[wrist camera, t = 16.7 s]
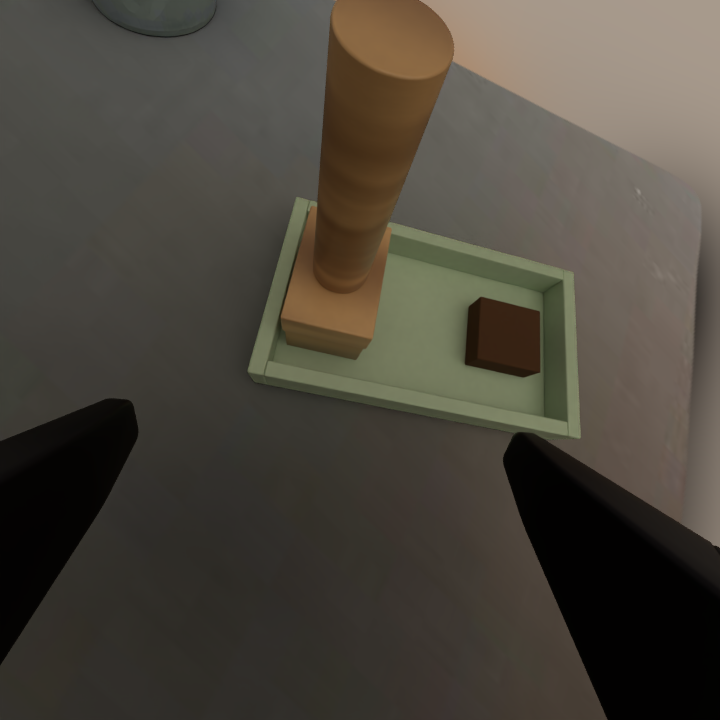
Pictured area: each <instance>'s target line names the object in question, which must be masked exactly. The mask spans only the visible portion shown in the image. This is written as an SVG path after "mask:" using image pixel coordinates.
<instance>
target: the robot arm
mask: <svg viewBox="0 0 720 720" xmlns="http://www.w3.org/2000/svg"><path fill="white" fill-rule="evenodd" d="M137 437H138V425H137V420H136V415H135V411H134V406H133V404H132V402H131V401H129V400H127V399H115V398H109V399H105V400H102V401H100V402H97V403H95V404H92V405H90V406H87V407H85V408H82V409H80V410H77V411H75V412H72V413H70V414H67V415H65V416H62V417H60V418H57V419H55V420H52V421H50V422H47V423H45V424H42V425H40V426H37V427H35V428H32V429H30V430H27V431H25V432H22V433H20V434H17V435H15V436H12V437H10V438H7V439H5V440H2V441H0V665H1V663H2V662H3V660H4V659H5V657H6V656H7V654H8V652H9V651H10V649H11V648H12V646H13V645H14V643H15V642H16V640H17V638H18V637H19V635H20V634H21V632H22V631H23V629H24V628H25V626H26V625H27V623H28V621H29V620H30V618H31V617H32V615H33V614H34V612H35V611H36V609H37V608H38V606H39V604H40V603H41V601H42V600H43V598H44V597H45V595H46V594H47V592H48V590H49V589H50V587H51V586H52V584H53V583H54V581H55V580H56V578H57V577H58V575H59V573H60V572H61V570H62V569H63V567H64V566H65V564H66V563H67V561H68V559H69V558H70V556H71V555H72V553H73V552H74V550H75V549H76V547H77V546H78V544H79V542H80V541H81V539H82V538H83V536H84V535H85V533H86V532H87V530H88V528H89V527H90V525H91V524H92V522H93V521H94V519H95V518H96V516H97V514H98V513H99V511H100V510H101V508H102V506H103V505H104V503H105V501H106V499H107V497H108V495H109V493H110V492H111V490H112V488H113V486H114V484H115V482H116V480H117V478H118V476H119V474H120V472H121V470H122V468H123V466H124V464H125V462H126V460H127V458H128V456H129V454H130V452H131V450H132V448H133V446H134V444H135V442H136V440H137ZM503 464H504V468H505V471H506V474H507V477H508V480H509V483H510V486H511V489H512V492H513V495H514V498H515V501H516V505H517V508H518V511H519V514H520V517H521V519H522V522H523V525H524V527H525V530H526V532H527V535H528V537H529V539H530V541H531V544H532V546H533V548H534V551H535V553H536V555H537V558H538V560H539V562H540V565H541V567H542V569H543V572H544V574H545V576H546V578H547V581H548V583H549V585H550V588H551V590H552V592H553V595H554V597H555V599H556V602H557V604H558V606H559V609H560V611H561V613H562V615H563V618H564V620H565V622H566V625H567V627H568V629H569V632H570V634H571V636H572V639H573V641H574V643H575V646H576V648H577V650H578V652H579V655H580V657H581V659H582V662H583V664H584V666H585V669H586V671H587V673H588V676H589V678H590V680H591V683H592V685H593V687H594V689H595V692H596V694H597V696H598V699H599V701H600V703H601V706H602V708H603V710H604V713H605V715H606V717H607V719H608V720H720V548H719V547H717V546H713V545H712V544H711V542H709V541H708V540H706V539H704V538H703V537H701V536H700V535H698V534H696V533H695V532H693V531H691V530H690V529H688V528H687V527H685V526H683V525H682V524H680V523H679V522H677V521H675V520H674V519H672V518H670V517H669V516H667V515H666V514H664V513H662V512H661V511H659V510H657V509H656V508H654V507H653V506H651V505H649V504H648V503H646V502H645V501H643V500H641V499H640V498H638V497H636V496H635V495H633V494H632V493H630V492H628V491H627V490H625V489H624V488H622V487H620V486H619V485H617V484H615V483H614V482H612V481H611V480H609V479H607V478H606V477H604V476H602V475H601V474H599V473H598V472H596V471H594V470H593V469H591V468H590V467H588V466H586V465H585V464H583V463H581V462H580V461H578V460H577V459H575V458H573V457H572V456H570V455H569V454H567V453H565V452H564V451H562V450H560V449H559V448H557V447H556V446H554V445H552V444H551V443H549V442H547V441H546V440H544V439H543V438H541V437H539V436H538V435H536V434H534V433H530V432H517V433H515V434H514V435H513V437H512V439H511V441H510V443H509V445H508V447H507V450H506V452H505V454H504V457H503Z"/></svg>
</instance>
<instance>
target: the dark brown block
mask: <svg viewBox="0 0 720 720" xmlns="http://www.w3.org/2000/svg"><path fill="white" fill-rule="evenodd" d="M465 365H468V366H473V367H477V368H482V369H486V370H491V371H495V372H500V373H504V374H509V375H513V376H518V377H523V378H524V377H528V376H531V375H534V374H537V373H540V311H537V310H533V309H529V308H525V307H521V306H517V305H513V304H509V303H505V302H501V301H497V300H493V299H489V298H485V297H479V298H478V299H477V300H476V301H475V302H474V303H472V304H471V305H470V306H469V309H468V324H467V339H466V353H465Z"/></svg>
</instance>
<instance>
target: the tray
mask: <svg viewBox="0 0 720 720" xmlns="http://www.w3.org/2000/svg"><path fill="white" fill-rule="evenodd" d="M311 206H315V207H317V202H315V201H311V200H310V202H309V200H307V199H303V198H299V197H296V200H295V203H294V207H293V210H292V214H291V217H290V221H289V225H288V228H287V232H286V235H285V239H284V242H283V246H282V249H281V253H280V257H279V260H278V264H277V267H276V271H275V274H274V278H273V281H272V285H271V289H270V292H269V296H268V299H267V303H266V306H265V310H264V313H263V317H262V321H261V324H260V328H259V331H258V335H257V338H256V342H255V345H254V349H253V353H252V356H251V360H250V363H249V367H248V370H247V372H248V374H249V375H250V377H251V378H252V379H253V381H254V382H256V383H261V384H266V385H271V386H276V387H281V388H286V389H291V390H296V391H302V392H307V393H312V394H317V395H322V396H327V397H332V398H337V399H342V400H347V401H353V402H358V403H363V404H368V405H373V406H378V407H383V408H388V409H393V410H399V411H404V412H409V413H414V414H419V415H424V416H429V417H434V418H439V419H444V420H450V421H455V422H460V423H465V424H470V425H475V426H480V427H485V428H490V429H496V430H501V431H506V432H511V433H517V432H530V433H534V434H536V435H538V436H539V437H541V438H543V439H547V440H555V439H556V440H558V439H579V438H581V434H580V410H579V387H578V363H577V340H576V316H575V293H574V273H573V272H570V271H567V270H563V269H560V268H556V267H553V266H549V265H545V264H542V263H538V262H534V261H531V260H527V259H523V258H520V257H516V256H512V255H509V254H505V253H502V252H498V251H494V250H491V249H487V248H483V247H480V246H476V245H472V244H469V243H465V242H461V241H458V240H454V239H450V238H447V237H443V236H439V235H436V234H432V233H428V232H425V231H421V230H417V229H414V228H410V227H406V226H403V225H399V224H395V223H392V222H389V223H388V225H387V227H390V228H392V232H391V238H390V243H389V249H388V255H387V261H386V266H385V272H384V278H383V284H382V289H381V295H380V301H379V307H378V312H377V318H376V324H375V330H374V335H373V339H372V341H371V342H370V344H369V345H368V347H367V348H366V349H363V350H362V352H361V353H360V355H359V356H358V358H357V359H356V360H353V359H349V358H344V357H340V356H335V355H331V354H326V353H322V352H317V351H313V350H308V349H304V348H299V347H295V346H290V345H287V343H286V335H285V331H283V330H282V324H281V313H282V309H283V306H284V302H285V298H286V295H287V291H288V287H289V284H290V280H291V276H292V273H293V269H294V265H295V262H296V258H297V255H298V251H299V247H300V244H301V240H302V236H303V233H304V229H305V225H306V222H307V218H308V214H309V211H310V207H311ZM479 297H485V298H489V299H493V300H497V301H501V302H505V303H509V304H513V305H517V306H521V307H525V308H529V309H533V310H537V311H540V373H537V374H534V375H531V376H528V377H524V378H523V377H518V376H513V375H509V374H504V373H500V372H495V371H491V370H486V369H482V368H477V367H473V366H468V365H465V353H466V339H467V324H468V309H469V306H470V305H471V304H472V303H474V302H475V301H476V300H477V299H478V298H479Z"/></svg>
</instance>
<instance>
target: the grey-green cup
mask: <svg viewBox="0 0 720 720" xmlns="http://www.w3.org/2000/svg"><path fill="white" fill-rule="evenodd" d="M92 1H93V2H94V4H95V5H96V7H97V8H98V9H99V10H100V12H101V13H102V14H104V15H105V16H106V17H107V18H108V19H110V20H111V21H113V22H114V23H116V24H118V25H120V26H122V27H124V28H126V29H129V30H131V31H134V32H138V33H141V34H146V35H152V36H179V35H185V34H189V33H192V32H194V31H197V30H199V29H200V28H202V27H203V26H205V25H206V24H207V23H208V22H209V21H210V20H211V18H212V17H213V15H214V12H215V9H216V0H92Z"/></svg>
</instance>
